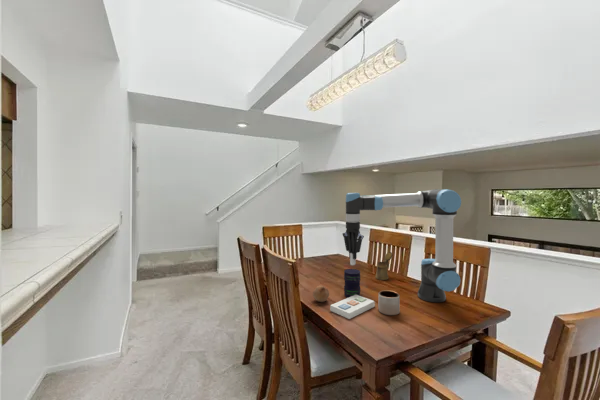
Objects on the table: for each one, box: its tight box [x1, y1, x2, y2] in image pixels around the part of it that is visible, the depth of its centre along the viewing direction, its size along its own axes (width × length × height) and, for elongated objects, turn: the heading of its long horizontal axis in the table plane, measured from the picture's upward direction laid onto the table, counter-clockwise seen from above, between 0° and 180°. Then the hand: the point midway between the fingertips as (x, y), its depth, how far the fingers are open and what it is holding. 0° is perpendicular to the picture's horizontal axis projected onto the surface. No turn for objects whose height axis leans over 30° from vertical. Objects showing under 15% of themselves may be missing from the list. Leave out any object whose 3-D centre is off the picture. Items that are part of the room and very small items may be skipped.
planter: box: [377, 289, 401, 316], centre depth 150 cm, size 11×11×10 cm
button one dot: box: [338, 304, 351, 310], centre depth 150 cm, size 5×5×3 cm
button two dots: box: [355, 296, 368, 302], centre depth 159 cm, size 5×5×3 cm
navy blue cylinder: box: [343, 268, 361, 298], centre depth 173 cm, size 10×10×15 cm
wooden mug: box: [375, 251, 393, 281], centre depth 204 cm, size 9×14×18 cm, turn 118°
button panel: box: [329, 295, 376, 320], centre depth 154 cm, size 13×22×3 cm, turn 131°
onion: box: [312, 285, 330, 303], centre depth 165 cm, size 10×9×10 cm
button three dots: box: [347, 300, 359, 306], centre depth 154 cm, size 5×5×3 cm
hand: (352, 264), depth 153 cm, fingers closed
